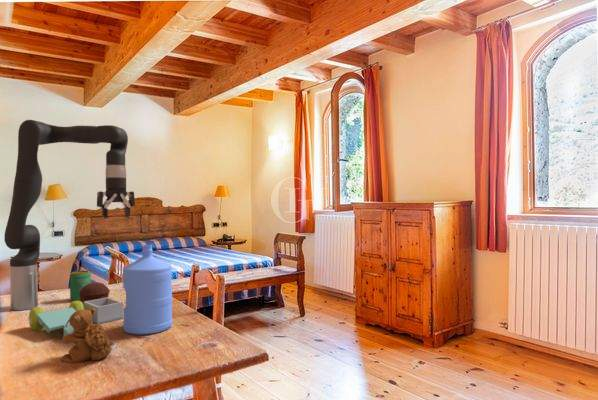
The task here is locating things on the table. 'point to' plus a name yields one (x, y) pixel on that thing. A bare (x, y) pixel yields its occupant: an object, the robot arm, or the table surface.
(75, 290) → the beverage can
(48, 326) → the teal flat paddle shape
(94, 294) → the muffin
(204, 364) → the table surface
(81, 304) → the dumbbell
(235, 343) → the table surface
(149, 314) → the water jug
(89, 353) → the stuffed squirrel
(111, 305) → the tub
